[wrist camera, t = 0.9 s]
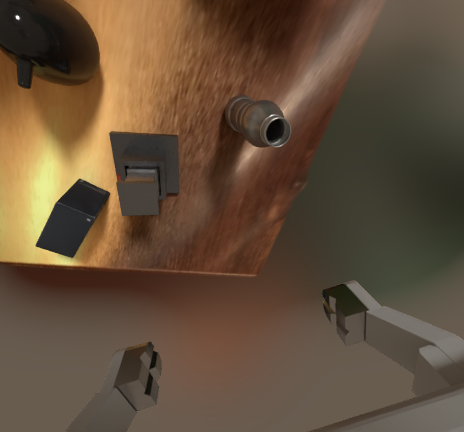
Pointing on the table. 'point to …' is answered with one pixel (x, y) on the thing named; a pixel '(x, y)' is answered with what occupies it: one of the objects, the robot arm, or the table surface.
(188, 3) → the table surface
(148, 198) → the column
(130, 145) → the stand
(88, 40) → the pump dispenser
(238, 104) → the plastic bottle
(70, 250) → the small box
